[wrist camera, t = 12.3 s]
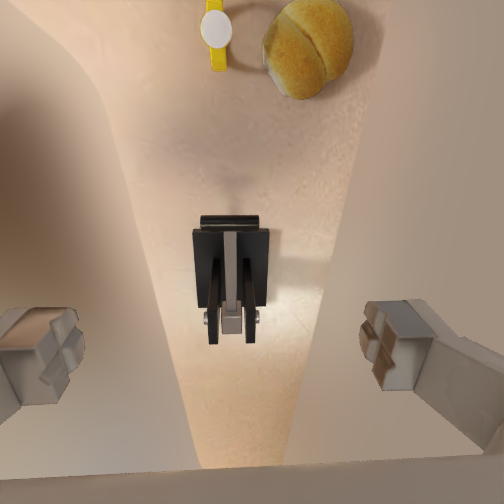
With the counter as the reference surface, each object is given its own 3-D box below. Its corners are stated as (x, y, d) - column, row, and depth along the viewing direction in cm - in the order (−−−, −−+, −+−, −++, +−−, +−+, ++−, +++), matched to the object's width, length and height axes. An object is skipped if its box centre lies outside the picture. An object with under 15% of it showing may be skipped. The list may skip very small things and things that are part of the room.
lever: (201, 209, 27) (199, 223, 25) (257, 209, 28) (259, 223, 26) (210, 318, 36) (209, 335, 34) (253, 317, 36) (254, 333, 34)
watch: (201, 2, 30) (195, -19, 25) (230, 1, 30) (230, -19, 25) (207, 73, 33) (203, 68, 27) (233, 72, 33) (234, 67, 28)
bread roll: (360, 57, 33) (376, 52, 29) (290, 111, 35) (297, 113, 31) (322, -25, 30) (335, -41, 26) (247, 40, 32) (250, 33, 28)
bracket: (193, 229, 41) (178, 280, 29) (268, 228, 41) (282, 278, 30) (198, 303, 46) (188, 371, 35) (265, 301, 47) (276, 367, 35)
